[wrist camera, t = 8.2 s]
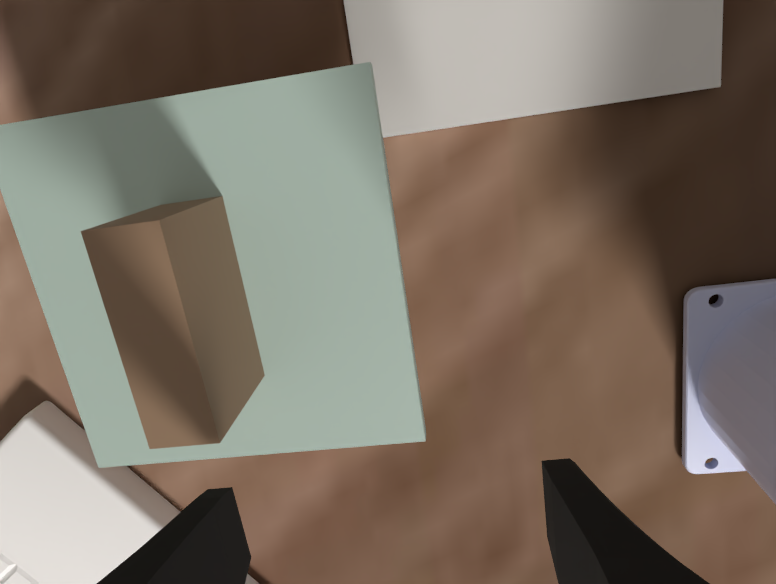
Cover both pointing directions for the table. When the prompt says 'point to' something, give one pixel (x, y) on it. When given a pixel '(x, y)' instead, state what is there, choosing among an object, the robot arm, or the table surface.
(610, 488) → the table surface
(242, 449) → the lid
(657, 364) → the table surface
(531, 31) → the mat
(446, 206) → the table surface
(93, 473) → the laptop
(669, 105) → the table surface
